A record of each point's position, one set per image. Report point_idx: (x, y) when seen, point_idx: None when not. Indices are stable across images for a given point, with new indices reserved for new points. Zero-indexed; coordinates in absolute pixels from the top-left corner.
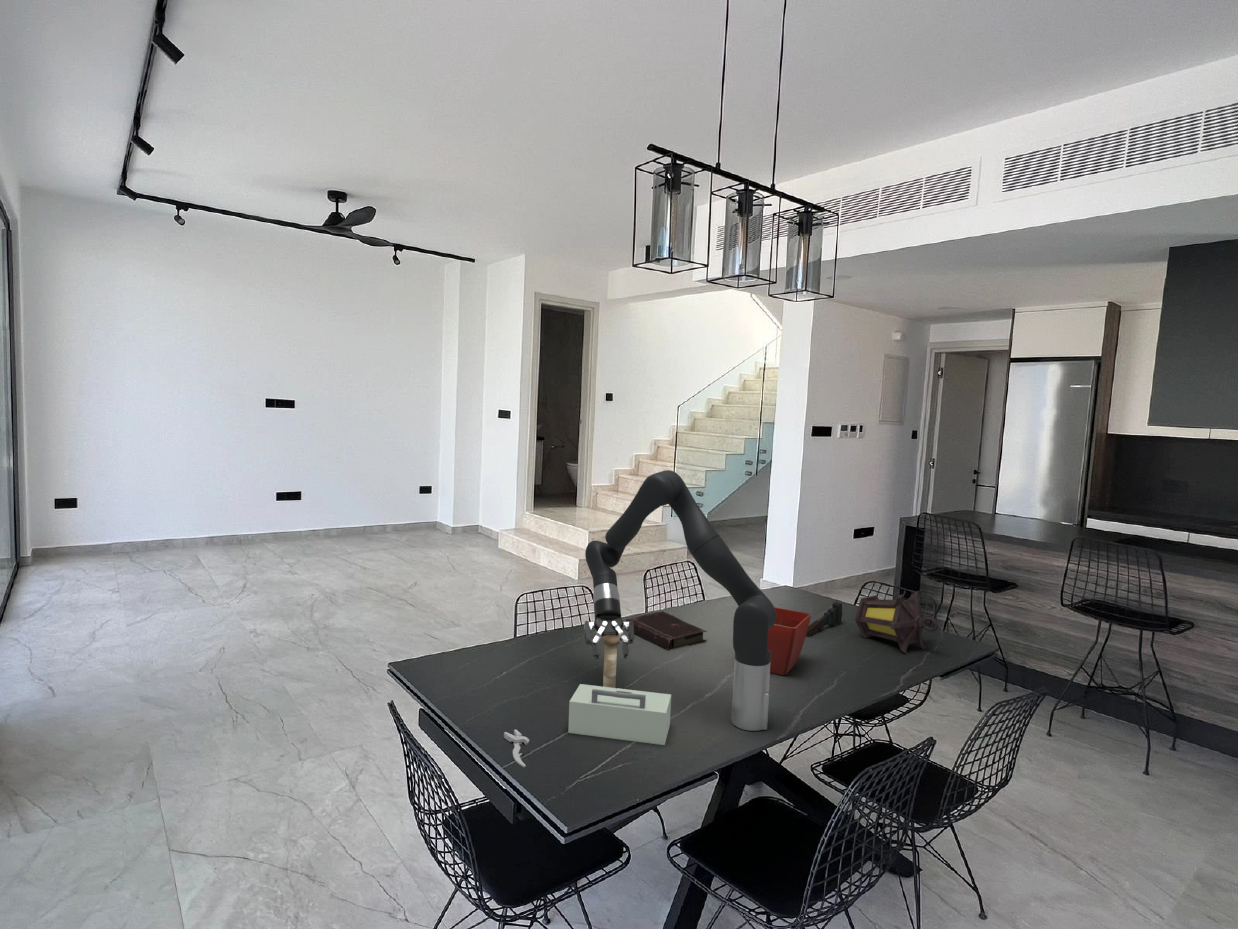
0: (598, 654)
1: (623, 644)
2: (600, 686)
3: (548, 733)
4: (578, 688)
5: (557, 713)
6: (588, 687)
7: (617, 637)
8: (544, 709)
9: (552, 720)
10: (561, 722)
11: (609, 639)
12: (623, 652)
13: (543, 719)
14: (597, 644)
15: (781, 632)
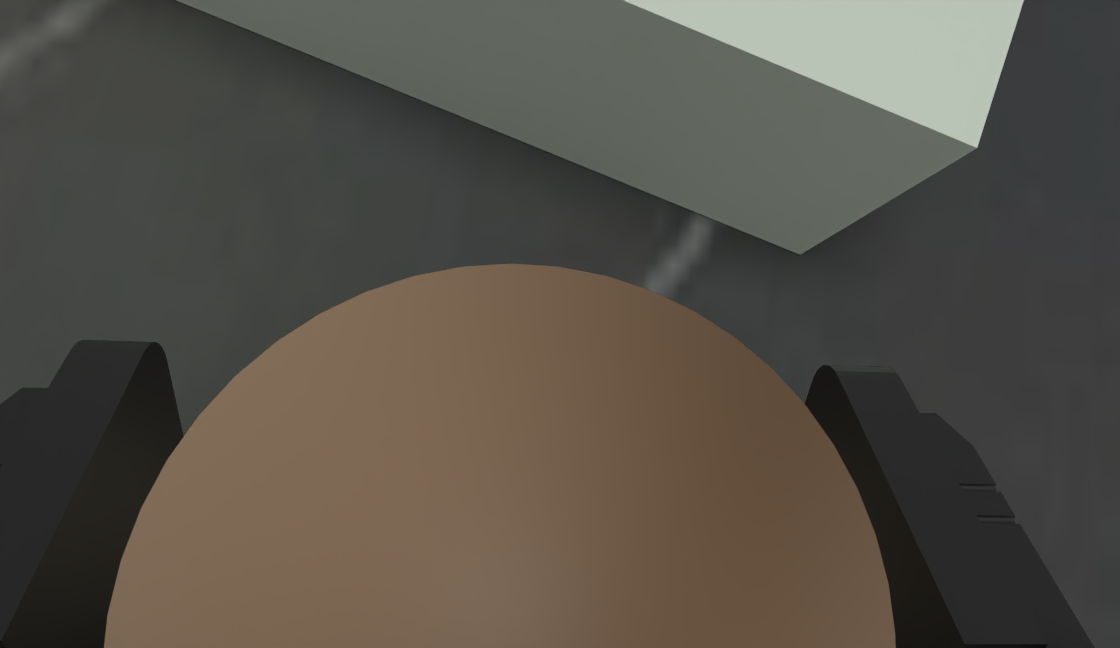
0: (845, 370)
1: (29, 582)
2: (706, 29)
3: (1063, 4)
4: (1007, 6)
5: (987, 358)
6: (873, 21)
7: (194, 644)
8: (1102, 455)
9: (1031, 225)
10: (957, 178)
11: (644, 373)
12: (136, 501)
13: (1106, 253)
14: (967, 599)
15: None
